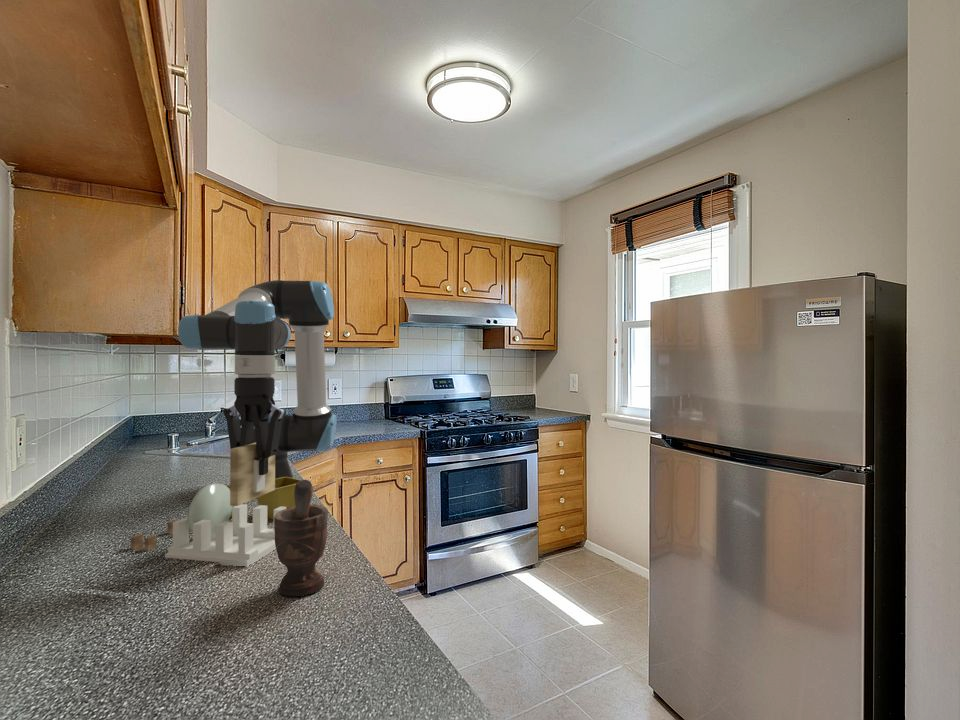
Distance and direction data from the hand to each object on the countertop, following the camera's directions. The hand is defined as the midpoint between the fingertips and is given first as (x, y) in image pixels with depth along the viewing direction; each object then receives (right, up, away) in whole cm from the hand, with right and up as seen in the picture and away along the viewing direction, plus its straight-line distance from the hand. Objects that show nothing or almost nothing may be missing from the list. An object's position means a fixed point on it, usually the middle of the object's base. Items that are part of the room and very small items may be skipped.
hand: (254, 489), depth 98 cm
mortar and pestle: (+17, -13, -18) cm, 28 cm away
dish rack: (-5, -12, +1) cm, 13 cm away
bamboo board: (0, -1, 0) cm, 1 cm away
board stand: (-22, -12, +4) cm, 25 cm away
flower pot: (-3, -13, +21) cm, 25 cm away
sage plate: (-10, -10, +2) cm, 14 cm away
